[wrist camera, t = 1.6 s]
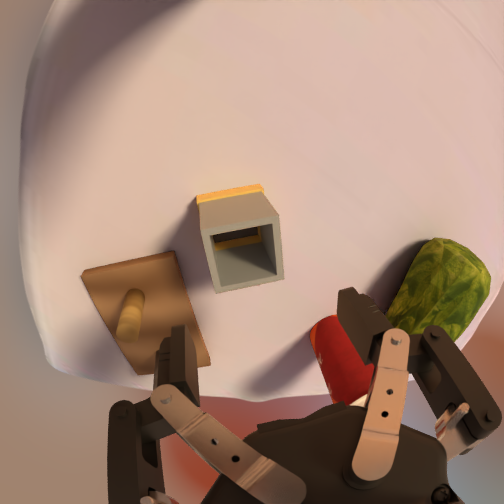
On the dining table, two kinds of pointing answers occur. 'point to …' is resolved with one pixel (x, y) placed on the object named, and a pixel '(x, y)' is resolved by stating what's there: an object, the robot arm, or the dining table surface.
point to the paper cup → (340, 363)
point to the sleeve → (242, 249)
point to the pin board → (144, 307)
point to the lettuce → (440, 289)
